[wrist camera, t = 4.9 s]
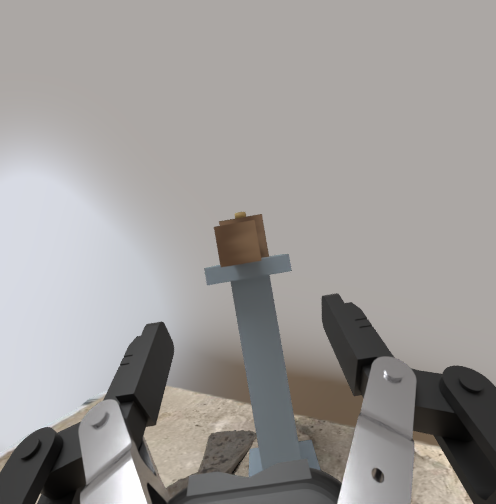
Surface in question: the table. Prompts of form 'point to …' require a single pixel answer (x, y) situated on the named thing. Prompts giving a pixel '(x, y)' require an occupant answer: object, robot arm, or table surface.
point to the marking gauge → (241, 240)
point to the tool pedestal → (264, 362)
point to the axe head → (220, 455)
